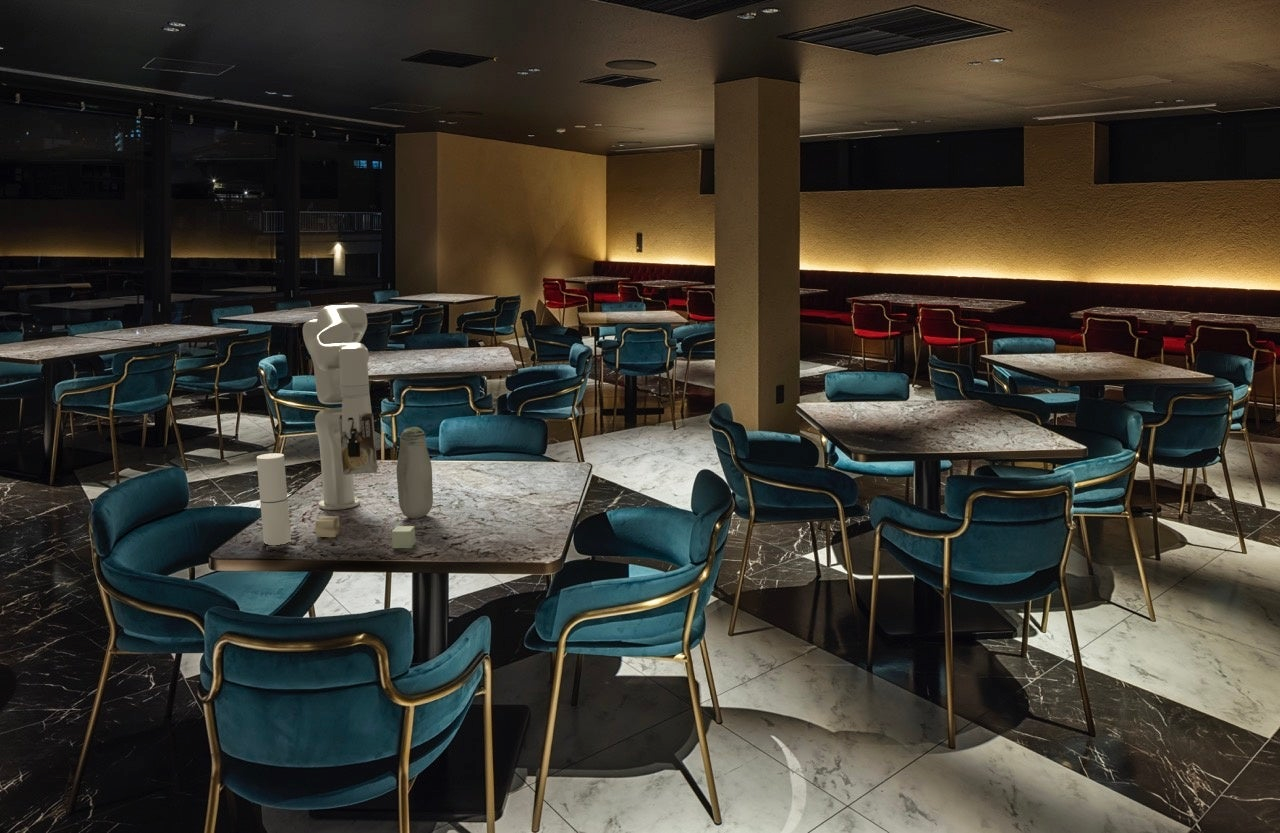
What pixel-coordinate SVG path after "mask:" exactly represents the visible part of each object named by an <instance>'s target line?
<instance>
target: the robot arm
mask: <svg viewBox="0 0 1280 833" xmlns="http://www.w3.org/2000/svg"><path fill="white" fill-rule="evenodd" d="M367 328H368V317H367V314H366V311H365V310H364V308H363V307H362V306H360V305H357V304H347V305H346V304H342V305H341V304H340V305H338V304H337V305H328V306H327V305H326V306H324V307H323V308H321V309H320V310H319V311H318V312H317V314H316V319H311V320H308V321H306V322H305V323H304V324H303V326H302V336H303V342H304V344H305V347H306V349H307V352H308V353H309V355H310V357H311V360H312V365H313V372H314V380H315V382H314V383H315V389H316V396H317V399H318V401H319V402H320V403H321V404H324V405H338V404H340V405H341V407H335V408H334V407H332V408H331V407H330V408H326V409H322V410H320V411H318V412H317V413H316V415H315V418H314V425H315V430H316V435H317V440H318V444H319V445H318V446H319V452H320V454H319V455H320V467H321V468H320V469H321V480H322V495H323V500H321V501H320V502H319V503H318V506H319V508H320V509H322V510H327V511H328V510H329V511H337V510H346V509H351V508H355V507H357V506H358V505H360V503H361V499H360V498H358V497H355V491H356V487H355V484H354V474H348V475H343V465H342V452H341V440H340V428H339V418H340V415H342V431H343V432H344V433H346V435H347V436H346V437H347V443H348V456H349V457H359V456H360V442H358V439H359V433H360V432H361V431H362V417H364V416H365V415H367V414H369V413H372V405H371V396H370V383H369V382H370V381H369V361H370V360H369V359H370V354H369V350H368V348H367V347H366V345H365V344H363V343H361V341H362V339H363V337H364V335H365V332H366V330H367ZM352 428H353V429H357V430H356V431H352ZM354 434H356V435H355V436H354Z"/></svg>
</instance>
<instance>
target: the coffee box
mask: <svg viewBox="0 0 1280 833" xmlns="http://www.w3.org/2000/svg"><path fill="white" fill-rule="evenodd" d="M374 420H375V419H374V413H369V414H367V415H365V416H364V417H362V431H361V432H360V433H359V439H358V442H360V456H359V457H349V456H348V443H347V437H346V436H347V435H346V433H344V432H343V431H342V415H340V418H339V428H340V440H341V452H342V465H343V475H348V474H353V475H360V474H376V473H377V472H378V461H377V448H376V447H377V444H376V436H375V435H376V434H375V432H376V431H375V421H374ZM356 430H357V429H353V428H352V431H356ZM355 435H356V434H354V436H355Z"/></svg>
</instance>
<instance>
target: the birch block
mask: <svg viewBox="0 0 1280 833" xmlns="http://www.w3.org/2000/svg"><path fill="white" fill-rule="evenodd" d="M340 527H341V526H340V516H339V515H336V516H335V515H331V516H330V515H327V516H326V515H324V516H323V515H321V516H320V517H319V518H318V519H317V520H315V530H316V532H315V535H316V538H317V537H334V538H336V537H337V536H338V535H339V534H340V533H341V530H340ZM338 533H339V534H338ZM337 534H338V535H337ZM336 535H337V536H336Z"/></svg>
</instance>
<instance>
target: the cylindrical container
mask: <svg viewBox="0 0 1280 833" xmlns="http://www.w3.org/2000/svg"><path fill="white" fill-rule="evenodd" d="M285 464H286V463H285V454H283V453H277V452H276V453H275V452H273V453H264V454H260V455H257V456H256V467H257V479H258V480H257V481H258V489H259V490H258V491H259V492H258V493H259V501H260V502H259V503H260V504H259V505H260V514H261V523H262V524H261V525H262V526H261V527H262V537H263V544H264V543H265V544H268V545H280V544H284V543H287V542H290V541H292V537H291V527H290V526H291V525H290V524H291V523H290V513H289V499H288V487H287V475H286V474H287V473H286V465H285ZM290 543H291V542H290Z"/></svg>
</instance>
